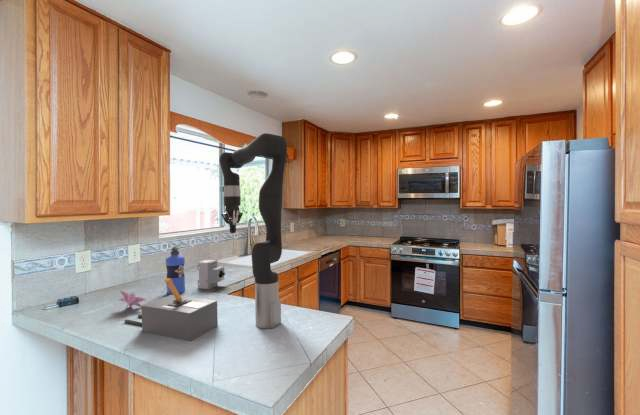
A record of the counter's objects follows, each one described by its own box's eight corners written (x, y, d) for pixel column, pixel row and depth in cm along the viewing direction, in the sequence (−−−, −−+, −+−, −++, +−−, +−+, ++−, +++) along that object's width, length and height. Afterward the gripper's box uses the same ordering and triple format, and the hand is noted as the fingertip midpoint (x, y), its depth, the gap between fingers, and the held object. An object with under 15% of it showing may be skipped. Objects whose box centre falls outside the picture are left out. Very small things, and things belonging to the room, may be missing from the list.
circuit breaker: (220, 289, 168) (219, 263, 168) (197, 288, 171) (197, 262, 170) (227, 285, 175) (226, 260, 175) (205, 284, 178) (204, 259, 178)
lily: (147, 313, 136) (152, 292, 141) (120, 310, 127) (126, 287, 132) (133, 317, 141) (138, 296, 146) (106, 314, 133) (112, 292, 137)
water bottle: (189, 290, 167) (188, 246, 166) (176, 295, 158) (175, 248, 157) (175, 289, 169) (174, 245, 169) (162, 294, 160) (161, 248, 160)
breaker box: (217, 325, 118) (217, 297, 118) (190, 341, 105) (189, 309, 105) (147, 313, 133) (146, 288, 132) (115, 326, 120) (114, 297, 119)
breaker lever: (183, 300, 116) (170, 278, 111) (181, 303, 115) (168, 280, 110) (179, 300, 117) (166, 278, 112) (177, 302, 116) (164, 280, 111)
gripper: (229, 195, 131) (230, 234, 131) (247, 195, 143) (248, 231, 144) (215, 195, 134) (216, 234, 134) (234, 196, 146) (235, 231, 146)
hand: (233, 232), depth 139 cm, fingers closed
